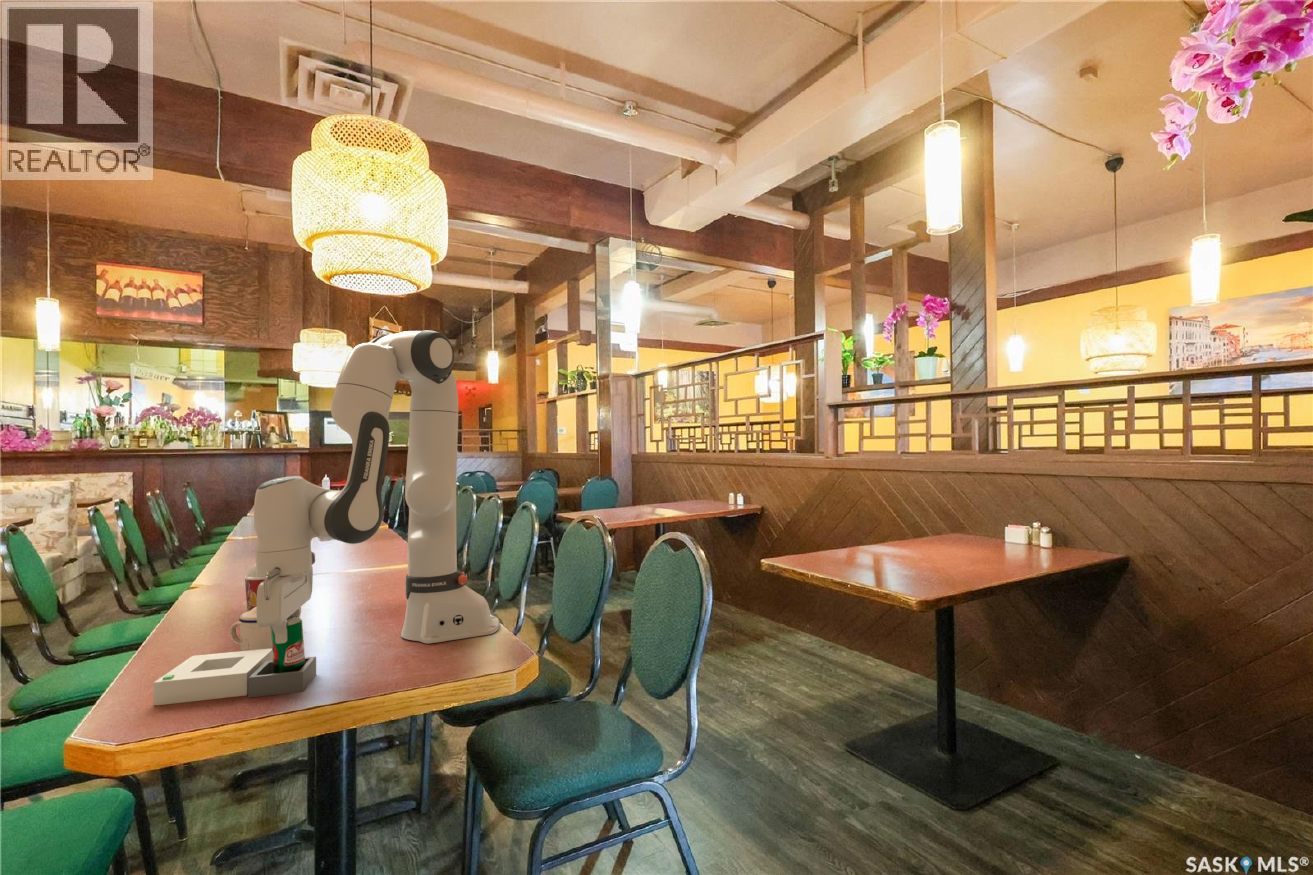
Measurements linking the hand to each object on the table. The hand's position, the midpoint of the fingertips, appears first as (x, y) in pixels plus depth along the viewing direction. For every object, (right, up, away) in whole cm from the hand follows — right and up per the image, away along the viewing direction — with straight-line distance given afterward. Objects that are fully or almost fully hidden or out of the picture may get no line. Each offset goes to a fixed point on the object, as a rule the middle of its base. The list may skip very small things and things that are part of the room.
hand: (288, 636), depth 111 cm
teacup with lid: (-17, -10, +16) cm, 25 cm away
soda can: (+1, -9, 0) cm, 9 cm away
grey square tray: (0, -9, -1) cm, 9 cm away
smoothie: (-27, -10, +34) cm, 45 cm away
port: (-13, -9, 0) cm, 16 cm away
